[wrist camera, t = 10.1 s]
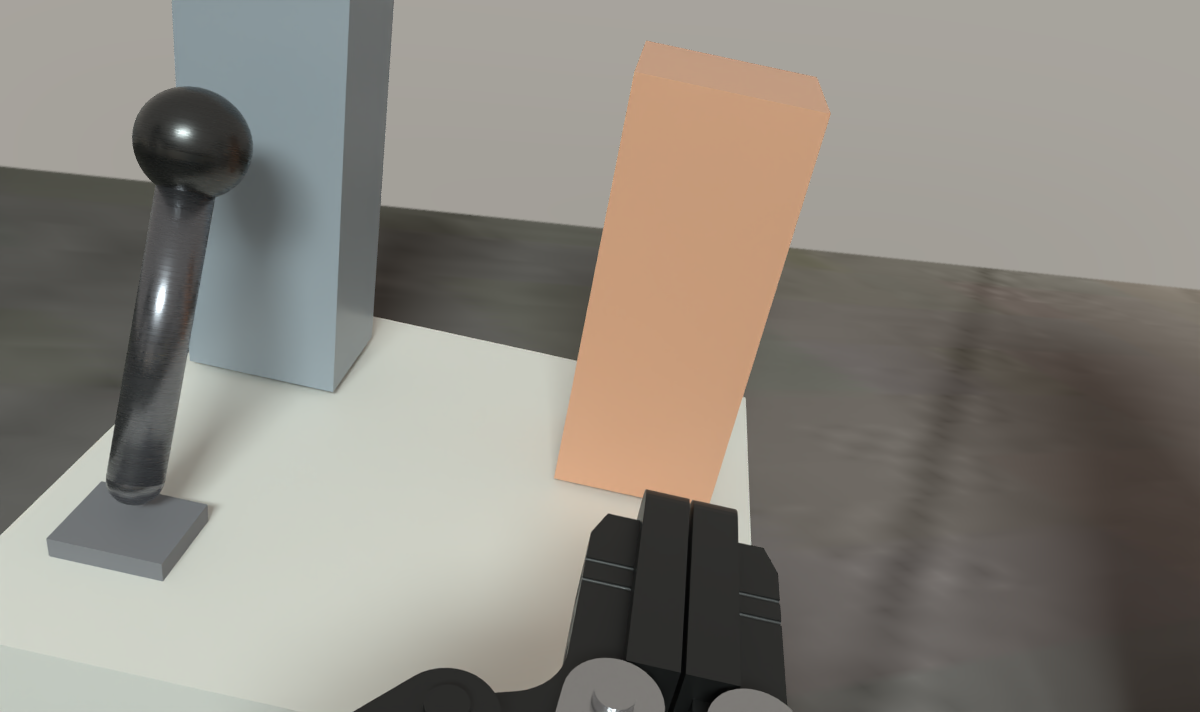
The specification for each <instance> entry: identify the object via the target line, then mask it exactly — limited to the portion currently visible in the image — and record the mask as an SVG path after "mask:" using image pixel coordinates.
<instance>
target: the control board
mask: <svg viewBox="0 0 1200 712" xmlns="http://www.w3.org/2000/svg"><path fill="white" fill-rule="evenodd" d="M576 364H577V361H575V360H570V359H566V358H561V357H557V356H552V355H547V354H543V353H538V352H534V351H529V350H525V349H520V348H515V347H511V346H506V345H502V344H497V343H493V342H488V341H483V340H479V339H474V338H470V337H465V336H460V335H456V334H451V333H447V332H442V331H438V330H433V329H428V328H424V327H419V326H415V325H410V324H406V323H401V322H396V321H392V320H387V319H383V318H378V317H374V316H373V326H372V337H371V339H370V340H369V342H368V343H367V344H366V346H365V347H364V349H363V350H362V352H361V353H360V354H359V356H358V357H357V359H356V360H355V362H354V363H353V364H352V366H351V367H350V369H349V370H348V372H347V373H346V374H345V376H344V377H343V379H342V380H341V382H340V383H339V384H338V386H337V387H336V389H335V390H334V392H330V391H325V390H321V389H316V388H311V387H307V386H302V385H298V384H293V383H289V382H284V381H280V380H275V379H270V378H266V377H261V376H257V375H252V374H248V373H243V372H239V371H234V370H229V369H225V368H220V367H216V366H211V365H207V364H202V363H198V362H193V361H190V356H189V353H188V355H187V361H186V366H185V372H184V377H183V383H182V389H181V394H180V400H179V406H178V411H177V417H176V423H175V428H174V434H173V440H172V445H171V451H170V457H169V462H168V468H167V474H166V479H165V484H164V487H163V489H162V490H161V492H160V493H159V494H158V496H157V497H156V498H154V499H153V500H152V501H150V502H148V503H145V504H142V505H136V506H132V505H125V504H122V503H120V502H118V501H117V500H116V499H114V498H113V497H112V496H111V494H110V493H109V491H108V489H107V487H106V473H107V467H108V461H109V455H110V450H111V444H112V438H113V432H114V426H115V425H114V426H113V427H112V428H111V429H110V430H108V431H107V432H106V433H105V434H104V435H103V436H102V437H101V438H100V439H99V440H98V441H97V442H96V443H95V444H94V445H93V446H92V447H91V448H90V449H89V450H88V451H87V452H86V453H85V454H84V455H83V456H82V457H81V458H80V459H79V460H78V461H77V462H76V463H74V464H73V465H72V466H71V467H70V468H69V469H68V470H67V471H66V472H65V473H64V474H63V475H62V476H61V477H60V478H59V479H58V480H57V481H56V482H55V483H54V484H53V485H52V486H51V487H50V488H49V489H48V490H47V491H46V492H45V493H44V494H43V495H42V496H41V497H39V498H38V499H37V500H36V501H35V502H34V503H33V504H32V505H31V506H30V507H29V508H28V509H27V510H26V511H25V512H24V513H23V514H22V515H21V516H20V517H19V518H18V519H17V520H16V521H15V522H14V523H13V524H12V525H11V526H10V527H9V528H8V529H7V530H5V531H4V532H3V533H2V534H1V535H0V712H353V711H355V710H357V709H358V708H360V707H362V706H363V705H365V704H367V703H369V702H370V701H372V700H374V699H375V698H377V697H379V696H381V695H382V694H384V693H386V692H387V691H389V690H391V689H392V688H394V687H396V686H398V685H399V684H401V683H403V682H404V681H406V680H408V679H409V678H411V677H413V676H415V675H417V674H419V673H421V672H424V671H427V670H430V669H436V668H455V669H460V670H464V671H467V672H470V673H472V674H474V675H476V676H478V677H479V678H481V679H482V680H484V681H485V682H486V683H487V684H488V685H489V686H490V687H491V688H492V690H493V691H494V692H495V693H497V692H511V691H521V690H527V689H530V688H534V687H536V686H539V685H541V684H543V683H545V682H546V681H548V680H550V679H551V678H552V677H553V676H554V675H555V674H557V673H558V671H559V670H560V669H561V667H562V664H563V659H564V654H565V649H566V644H567V638H568V633H569V628H570V623H571V618H572V613H573V608H574V603H575V598H576V594H577V589H578V585H579V581H580V577H581V572H582V568H583V564H584V560H585V555H586V551H587V547H588V543H589V538H590V534H591V531H592V530H593V529H594V528H595V527H596V526H597V525H598V524H599V523H600V522H601V520H602V519H603V518H604V517H605V516H606V515H607V514H608V513H609V514H613V515H618V516H622V517H627V518H631V519H636V520H637V517H638V513H639V509H640V505H641V502H642V498H641V497H636V496H632V495H627V494H623V493H618V492H614V491H609V490H605V489H600V488H595V487H591V486H586V485H582V484H577V483H573V482H568V481H564V480H559V479H554V476H555V470H556V465H557V460H558V455H559V450H560V445H561V440H562V435H563V430H564V425H565V420H566V415H567V410H568V405H569V400H570V395H571V390H572V385H573V380H574V374H575V369H576ZM710 504H714V505H719V506H723V507H728V508H733V509H736V510H737V512H738V543H743V544H747V545H751V530H750V503H749V477H748V450H747V423H746V398H744V397H743V398H742V401H741V404H740V407H739V410H738V414H737V417H736V420H735V423H734V427H733V430H732V433H731V436H730V439H729V443H728V446H727V449H726V452H725V456H724V459H723V462H722V465H721V468H720V472H719V475H718V478H717V481H716V484H715V488H714V491H713V494H712V497H711V501H710Z"/></svg>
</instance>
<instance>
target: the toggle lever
mask: <svg viewBox="0 0 1200 712" xmlns="http://www.w3.org/2000/svg"><path fill="white" fill-rule="evenodd" d="M132 142H133V149H134V153H135V156H136V159H137V161H138V163H139V165H140V167H141V169H142V170H143V172H144V173H145V174H146V176H147V177H148V178H149V179H150V180H151V181H152V182H153V183H154V184H155V185H156V186H155V192H154V198H153V204H152V210H151V216H150V222H149V227H148V233H147V239H146V245H145V251H144V257H143V262H142V268H141V274H140V280H139V286H138V292H137V298H136V303H135V309H134V315H133V321H132V327H131V333H130V338H129V344H128V350H127V356H126V362H125V368H124V374H123V379H122V385H121V391H120V397H119V403H118V409H117V414H116V420H115V426H114V432H113V438H112V444H111V450H110V455H109V461H108V467H107V473H106V487H107V489H108V491H109V493H110V494H111V496H112V497H113V498H114V499H116V500H117V501H118V502H120V503H122V504H125V505H132V506H136V505H142V504H145V503H148V502H150V501H152V500H153V499H154V498H156V497H157V496H158V494H159V493H160V492H161V490H162V489H163V487H164V484H165V479H166V474H167V468H168V462H169V457H170V451H171V445H172V440H173V434H174V428H175V423H176V417H177V411H178V406H179V400H180V394H181V389H182V383H183V377H184V372H185V366H186V361H187V355H188V349H189V344H190V338H191V332H192V327H193V321H194V315H195V310H196V304H197V298H198V293H199V287H200V281H201V276H202V270H203V264H204V259H205V253H206V247H207V242H208V236H209V231H210V225H211V219H212V214H213V208H214V202H215V198H216V197H218V196H221V195H223V194H225V193H227V192H229V191H230V190H232V189H233V188H235V187H236V186H237V185H238V184H239V183H240V182H241V181H242V179H243V178H244V177H245V175H246V173H247V172H248V170H249V167H250V165H251V161H252V157H253V140H252V135H251V132H250V128H249V126H248V124H247V122H246V120H245V118H244V117H243V115H242V114H241V113H240V111H239V110H238V109H237V108H236V107H235V106H234V105H233V104H232V103H231V102H230V101H228V100H227V99H226V98H224V97H223V96H221V95H219V94H217V93H215V92H213V91H211V90H208V89H204V88H200V87H192V86H183V87H175V88H171V89H168V90H165V91H163V92H161V93H159V94H157V95H156V96H154V97H153V98H151V99H150V100H149V101H148V102H147V103H146V104H145V105H144V106H143V107H142V109H141V110H140V112H139V114H138V115H137V118H136V120H135V123H134V127H133V135H132Z"/></svg>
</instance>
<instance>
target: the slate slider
mask: <svg viewBox="0 0 1200 712" xmlns="http://www.w3.org/2000/svg"><path fill="white" fill-rule="evenodd" d="M393 5H394V0H172V13H173V32H174V52H175V53H174V54H175V72H176V87H183V86H192V87H200V88H204V89H208V90H211V91H213V92H215V93H217V94H219V95H221V96H223V97H224V98H226V99H227V100H228V101H230V102H231V103H232V104H233V105H234V106H235V107H236V108H237V109H238V110H239V111H240V113H241V114H242V115H243V117H244V118H245V120H246V122H247V124H248V126H249V128H250V132H251V135H252V140H253V157H252V161H251V165H250V167H249V170H248V172H247V173H246V175H245V177H244V178H243V179H242V181H241V182H240V183H239V184H238V185H237V186H236V187H235V188H233V189H232V190H230V191H229V192H227V193H225V194H223V195H221V196H218V197H216V198H215V202H214V208H213V214H212V219H211V225H210V231H209V236H208V242H207V247H206V253H205V259H204V264H203V270H202V276H201V281H200V287H199V293H198V298H197V304H196V310H195V315H194V321H193V327H192V332H191V338H190V344H189V356H190V361H193V362H198V363H202V364H207V365H211V366H216V367H220V368H225V369H229V370H234V371H239V372H243V373H248V374H252V375H257V376H261V377H266V378H270V379H275V380H280V381H284V382H289V383H293V384H298V385H302V386H307V387H311V388H316V389H321V390H325V391H330V392H334V390H335V389H336V387H337V386H338V384H339V383H340V382H341V380H342V379H343V377H344V376H345V374H346V373H347V372H348V370H349V369H350V367H351V366H352V364H353V363H354V362H355V360H356V359H357V357H358V356H359V354H360V353H361V352H362V350H363V349H364V347H365V346H366V344H367V343H368V342H369V340H370V339H371V337H372V326H373V311H374V296H375V280H376V265H377V250H378V235H379V219H380V204H381V189H382V174H383V158H384V142H385V128H386V113H387V98H388V82H389V66H390V51H391V36H392V20H393Z"/></svg>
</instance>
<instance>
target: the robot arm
mask: <svg viewBox="0 0 1200 712" xmlns="http://www.w3.org/2000/svg"><path fill="white" fill-rule="evenodd" d="M779 600H780V597H779V582H778V573H777V571H776V569H775V568H774V566H773V564H772V562H771V561H770V559H769V557H768V555H767V553H766V552H765V550H764V548H761V547H756V546H752V545H747V544H743V543H738V512H737V510H736V509H733V508H728V507H723V506H719V505H714V504H710V503H705V502H701V501H696V500H692V501H691V503H690V499H688V498H684V497H679V496H675V495H670V494H666V493H661V492H657V491H652V490H648V489H646V490H645V492H644V495H643V498H642V502H641V505H640V509H639V513H638V517H637V520H636V519H631V518H627V517H622V516H618V515H613V514H609V513H608V514H607V515H606V516H605V517H604V518H603V519H602V520H601V522H600V523H599V524H598V525H597V526H596V527H595V528H594V529H593V530H592V531H591V534H590V538H589V543H588V547H587V551H586V555H585V560H584V564H583V568H582V572H581V577H580V581H579V585H578V589H577V594H576V598H575V603H574V608H573V613H572V618H571V623H570V628H569V633H568V638H567V644H566V649H565V654H564V659H563V664H562V667H561V669H560V670H559V671H558V673H557V674H555V675H554V676H553V677H552V678H551V679H550V680H548V681H546V682H545V683H543V684H541V685H539V686H536V687H534V688H530V689H527V690H521V691H511V692H497V693H495V692H494V691H493V690H492V688H491V687H490V686H489V685H488V684H487V683H486V682H485V681H484V680H482V679H481V678H479V677H478V676H476V675H474V674H472V673H470V672H467V671H464V670H460V669H455V668H436V669H430V670H427V671H424V672H421V673H419V674H417V675H415V676H413V677H411V678H409V679H408V680H406V681H404V682H403V683H401V684H399V685H398V686H396V687H394V688H392V689H391V690H389V691H387V692H386V693H384V694H382V695H381V696H379V697H377V698H375V699H374V700H372V701H370V702H369V703H367V704H365V705H363V706H362V707H360V708H358V709H357V710H355V711H353V712H793V711H792V710H791V709H790V708H789V707H788V706H787V698H786V684H785V669H784V655H783V640H782V626H780V623H781V611H780V605H779Z"/></svg>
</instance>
